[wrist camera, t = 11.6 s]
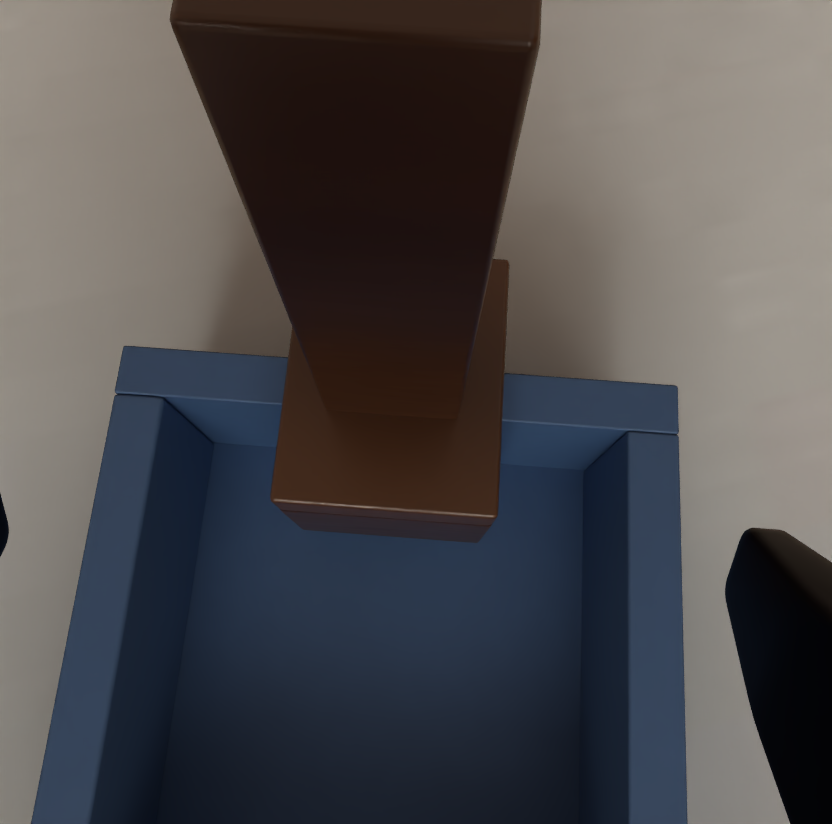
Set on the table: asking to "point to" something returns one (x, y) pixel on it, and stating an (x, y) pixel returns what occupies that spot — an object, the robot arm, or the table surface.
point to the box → (372, 624)
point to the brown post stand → (377, 239)
